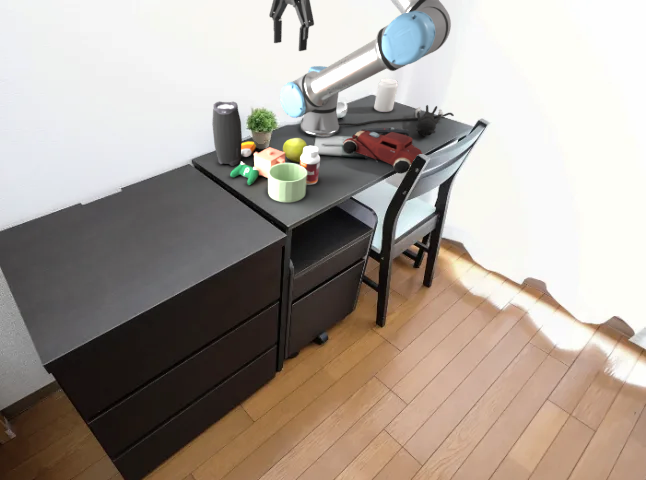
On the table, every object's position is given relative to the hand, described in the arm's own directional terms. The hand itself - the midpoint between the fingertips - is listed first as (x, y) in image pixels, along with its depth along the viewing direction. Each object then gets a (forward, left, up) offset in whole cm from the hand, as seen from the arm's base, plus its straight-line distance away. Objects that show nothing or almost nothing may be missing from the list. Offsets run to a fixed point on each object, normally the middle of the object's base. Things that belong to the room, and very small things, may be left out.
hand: (289, 46), depth 128 cm
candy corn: (+18, -1, -30) cm, 35 cm away
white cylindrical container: (-51, +6, -32) cm, 61 cm away
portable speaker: (+29, +3, -32) cm, 43 cm away
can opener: (-25, +27, -32) cm, 48 cm away
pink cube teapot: (+24, +19, -32) cm, 44 cm away
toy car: (-13, +37, -32) cm, 50 cm away
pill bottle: (+17, +31, -32) cm, 47 cm away
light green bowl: (+27, +32, -32) cm, 52 cm away
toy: (-64, +20, -29) cm, 73 cm away
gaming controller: (+32, +17, -32) cm, 48 cm away
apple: (+11, +18, -32) cm, 38 cm away
